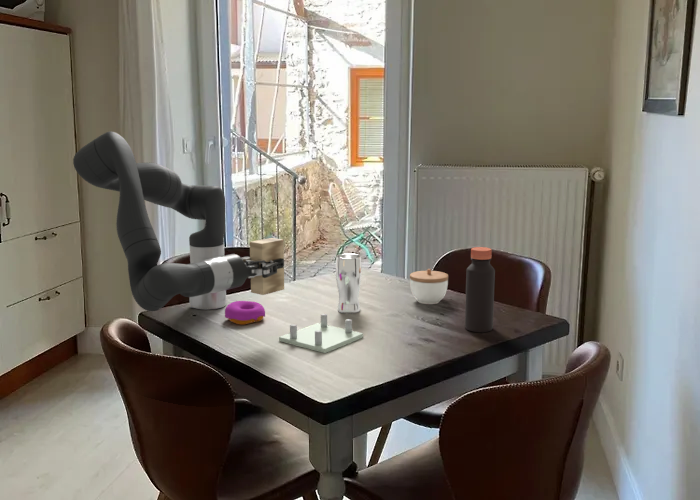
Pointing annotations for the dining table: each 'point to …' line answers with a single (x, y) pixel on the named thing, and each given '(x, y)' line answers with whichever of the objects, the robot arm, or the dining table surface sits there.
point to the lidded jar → (428, 286)
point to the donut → (244, 312)
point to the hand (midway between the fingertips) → (275, 261)
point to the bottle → (480, 291)
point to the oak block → (267, 251)
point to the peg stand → (321, 336)
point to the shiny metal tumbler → (348, 282)
